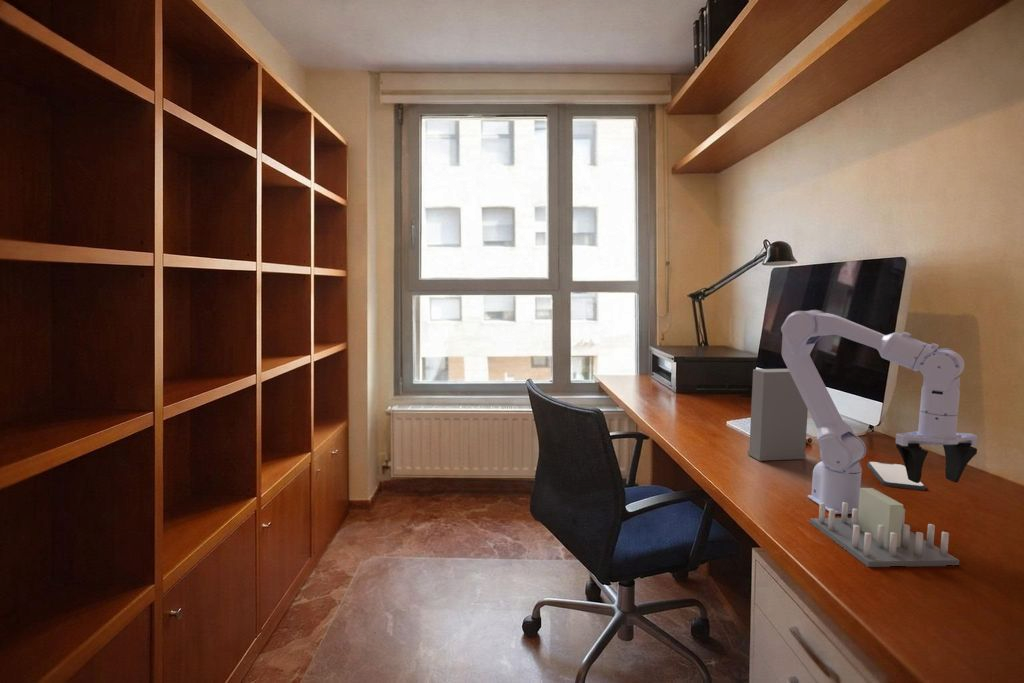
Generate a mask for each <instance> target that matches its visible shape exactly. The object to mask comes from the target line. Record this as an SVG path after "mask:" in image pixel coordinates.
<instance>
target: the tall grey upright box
mask: <svg viewBox="0 0 1024 683" xmlns="http://www.w3.org/2000/svg"><path fill="white" fill-rule="evenodd" d="M751 385H752V386H751V387H752V388H751V405H750V406H751V408H750V409H751V410H750V428H749V429H750V430H749V447H748V448H749V449H748V450H747V451H746V452H747V455H748V456H749V457H752V458H753V459H756V460H757V461H759V462H763V461H764V462H765V461H784V460H785V461H787V460H801V461H803V460H805V459H806V458H807V454H806V446H807V445H806V444H807V430H808V429H807V427H808V413H809V411H808V409H807V407H806V405H805V402H804V400H803V398H802V396H801V394H800V392H799V390H798V388H797V386H796V384H795V382H794V380H793V378H792V376H791V374H790V372H789V370H788V368H760V369H759V368H758V369H756V368H755V369H754V368H753V370H752V384H751Z"/></svg>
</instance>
